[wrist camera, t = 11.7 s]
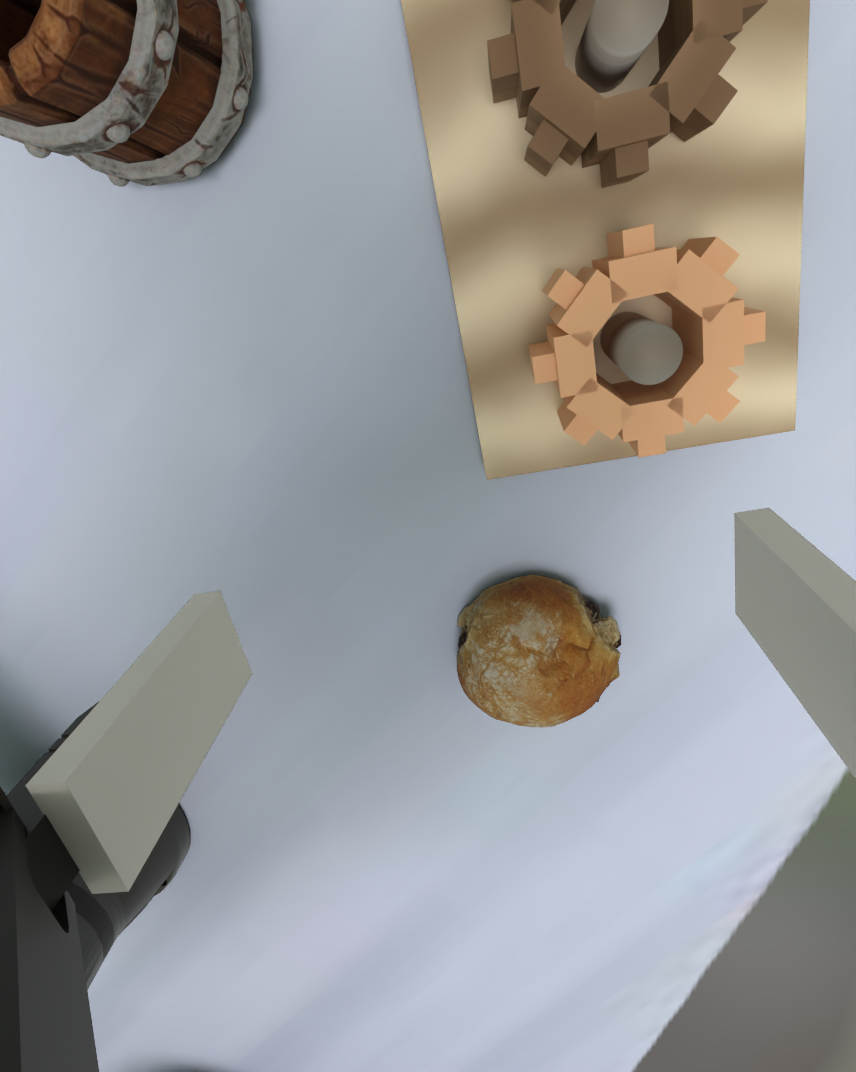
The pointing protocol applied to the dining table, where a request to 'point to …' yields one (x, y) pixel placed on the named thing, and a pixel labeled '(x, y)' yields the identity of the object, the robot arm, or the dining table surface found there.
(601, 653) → the bread roll
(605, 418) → the gear
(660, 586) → the dining table surface
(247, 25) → the mug
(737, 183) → the peg board
